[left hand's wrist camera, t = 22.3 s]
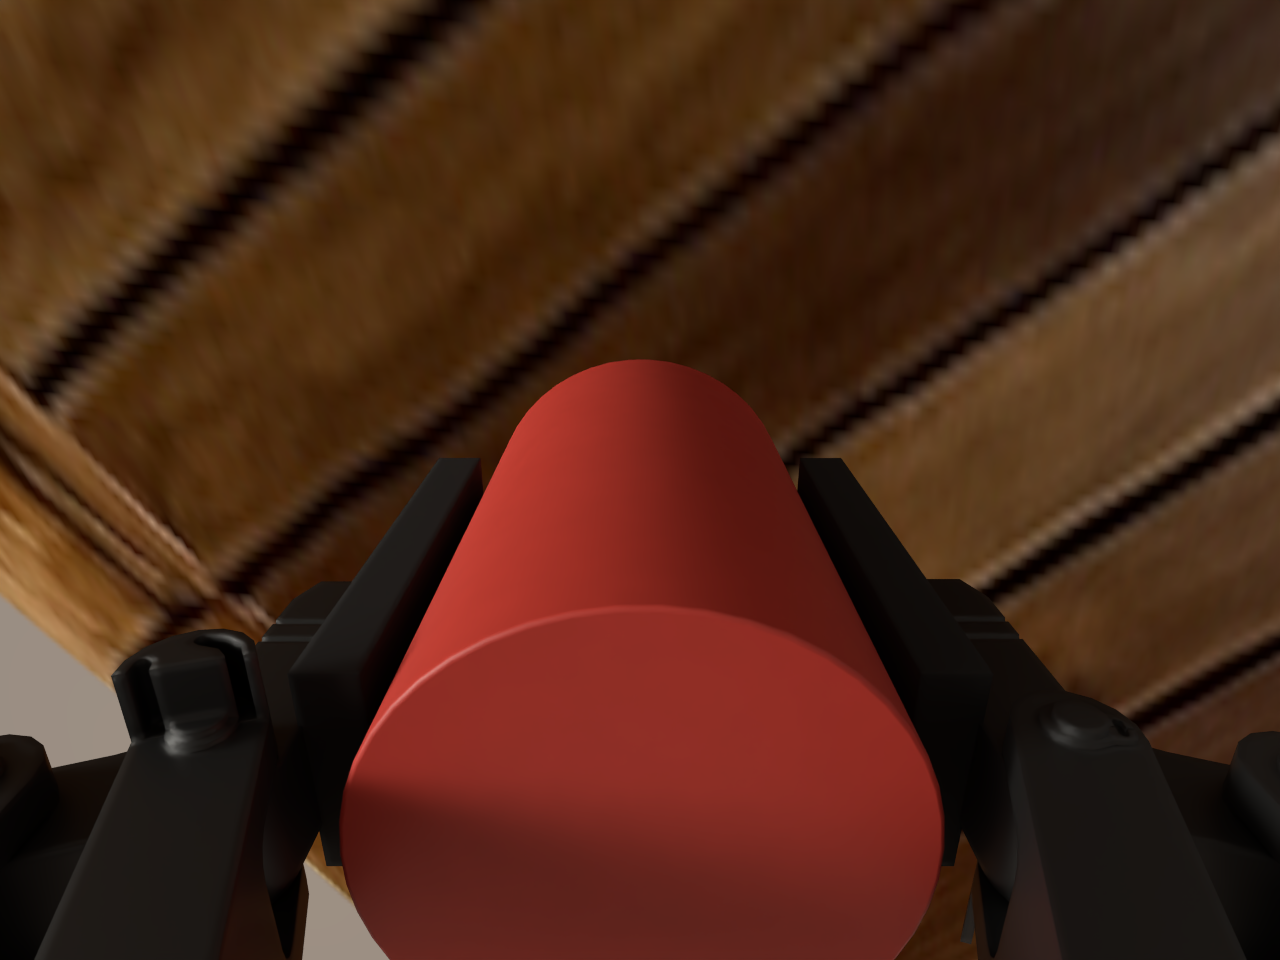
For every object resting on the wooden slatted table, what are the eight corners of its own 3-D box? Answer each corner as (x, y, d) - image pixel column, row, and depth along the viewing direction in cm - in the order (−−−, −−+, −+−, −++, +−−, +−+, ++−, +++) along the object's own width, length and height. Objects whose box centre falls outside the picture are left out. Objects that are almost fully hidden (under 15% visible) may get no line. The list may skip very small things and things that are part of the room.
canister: (624, 295, 14) (601, 472, 6) (841, 483, 16) (1074, 844, 7) (443, 511, 16) (222, 891, 8) (654, 664, 17) (668, 1129, 9)
